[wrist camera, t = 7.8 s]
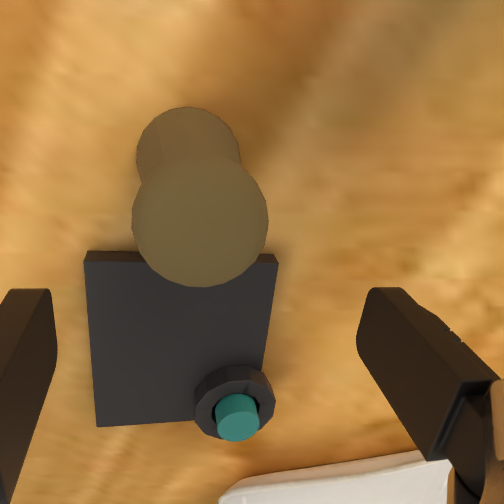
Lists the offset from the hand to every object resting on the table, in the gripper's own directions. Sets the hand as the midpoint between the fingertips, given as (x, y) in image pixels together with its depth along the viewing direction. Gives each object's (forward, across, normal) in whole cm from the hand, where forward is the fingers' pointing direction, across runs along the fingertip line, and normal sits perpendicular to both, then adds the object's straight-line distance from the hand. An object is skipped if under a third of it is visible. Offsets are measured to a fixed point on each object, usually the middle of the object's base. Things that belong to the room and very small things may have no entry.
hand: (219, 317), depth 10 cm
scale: (+15, 0, +13) cm, 20 cm away
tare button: (+13, -4, +17) cm, 22 cm away
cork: (+16, 0, 0) cm, 16 cm away
